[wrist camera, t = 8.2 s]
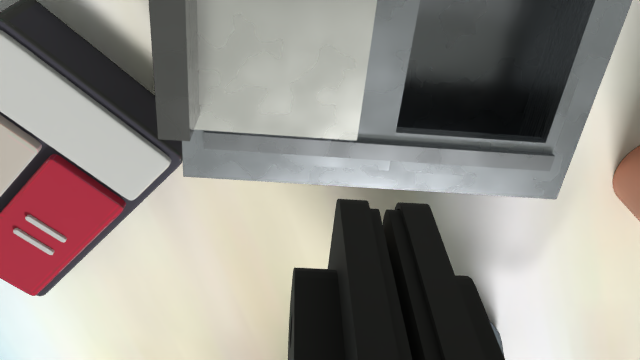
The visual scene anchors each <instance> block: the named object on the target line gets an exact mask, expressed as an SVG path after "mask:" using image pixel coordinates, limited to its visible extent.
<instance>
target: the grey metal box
mask: <svg viewBox="0 0 640 360" xmlns="http://www.w3.org/2000/svg"><path fill="white" fill-rule="evenodd" d="M631 3H632V0H377V5H376V12H375V19H374V26H373V33H372V40H371V47H370V54H369V61H368V67H367V74H366V81H365V88H364V95H363V102H362V109H361V116H360V123H359V129H358V136H357V141H356V140H341V139H326V138H312V137H297V136H282V135H267V134H253V133H238V132H223V131H209V130H194V132H193V134H192V137H191V140H190V141H182V154H183V176H184V177H200V178H216V179H233V180H249V181H265V182H282V183H298V184H315V185H331V186H347V187H364V188H380V189H396V190H413V191H429V192H446V193H462V194H478V195H495V196H511V197H527V198H544V199H557V196H558V193H559V191H560V188H561V186H562V183H563V180H564V178H565V175H566V172H567V170H568V167H569V165H570V162H571V159H572V157H573V154H574V152H575V149H576V146H577V144H578V141H579V138H580V136H581V133H582V131H583V128H584V125H585V123H586V120H587V118H588V115H589V112H590V110H591V107H592V104H593V102H594V99H595V97H596V94H597V91H598V89H599V86H600V84H601V81H602V78H603V76H604V73H605V71H606V68H607V65H608V63H609V60H610V57H611V55H612V52H613V50H614V47H615V44H616V42H617V39H618V37H619V34H620V31H621V29H622V26H623V23H624V21H625V18H626V16H627V13H628V10H629V8H630V5H631Z"/></svg>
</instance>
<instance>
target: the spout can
mask: <svg viewBox="0 0 640 360" xmlns="http://www.w3.org/2000/svg"><path fill="white" fill-rule="evenodd" d="M613 189H614V192H615V194H616V196H617V197H618V198H619V199H620V200H621V201H622V203H623V204H624V205H625V206H626V207H627V208H628V209H629V210H630V211H631V212H632V214H633V215H634V216H635V217H636V218H637V219H638V220H639V221H640V146H638V147H637V148H635V149H634V150H632V151H631V152H630V153H629V154H628V155H627V156H626V157H625V158H624V159H623V160H622V161H621V162H620V164H619V165H618V167H617V169H616V171H615V174H614V177H613Z"/></svg>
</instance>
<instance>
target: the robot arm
mask: <svg viewBox="0 0 640 360" xmlns="http://www.w3.org/2000/svg"><path fill="white" fill-rule="evenodd" d="M288 360H505V358H504V356H503V353H502V351H501V348H500V346H499V343H498V341H497V338H496V336H495V333H494V331H493V329H492V326H491V324H490V321H489V319H488V316H487V314H486V311H485V309H484V306H483V304H482V301H481V299H480V296H479V294H478V291H477V289H476V286H475V284H474V282H473V281H472V279H471V278H470V277H468V276H455V274H454V272H453V269H452V266H451V263H450V261H449V258H448V255H447V252H446V250H445V247H444V244H443V241H442V239H441V236H440V233H439V231H438V228H437V225H436V222H435V220H434V217H433V214H432V211H431V209H430V207H429V205H427V204H416V203H397V205H396V207H395V210H386V212H385V215H384V220H383V225H382V221H381V216H380V212H379V210H378V209H370V208H369V203H368V201H365V200H348V199H338V200H337V204H336V210H335V218H334V225H333V233H332V241H331V248H330V256H329V264H328V269H310V268H294V270H293V279H292V290H291V302H290V317H289V340H288Z"/></svg>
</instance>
